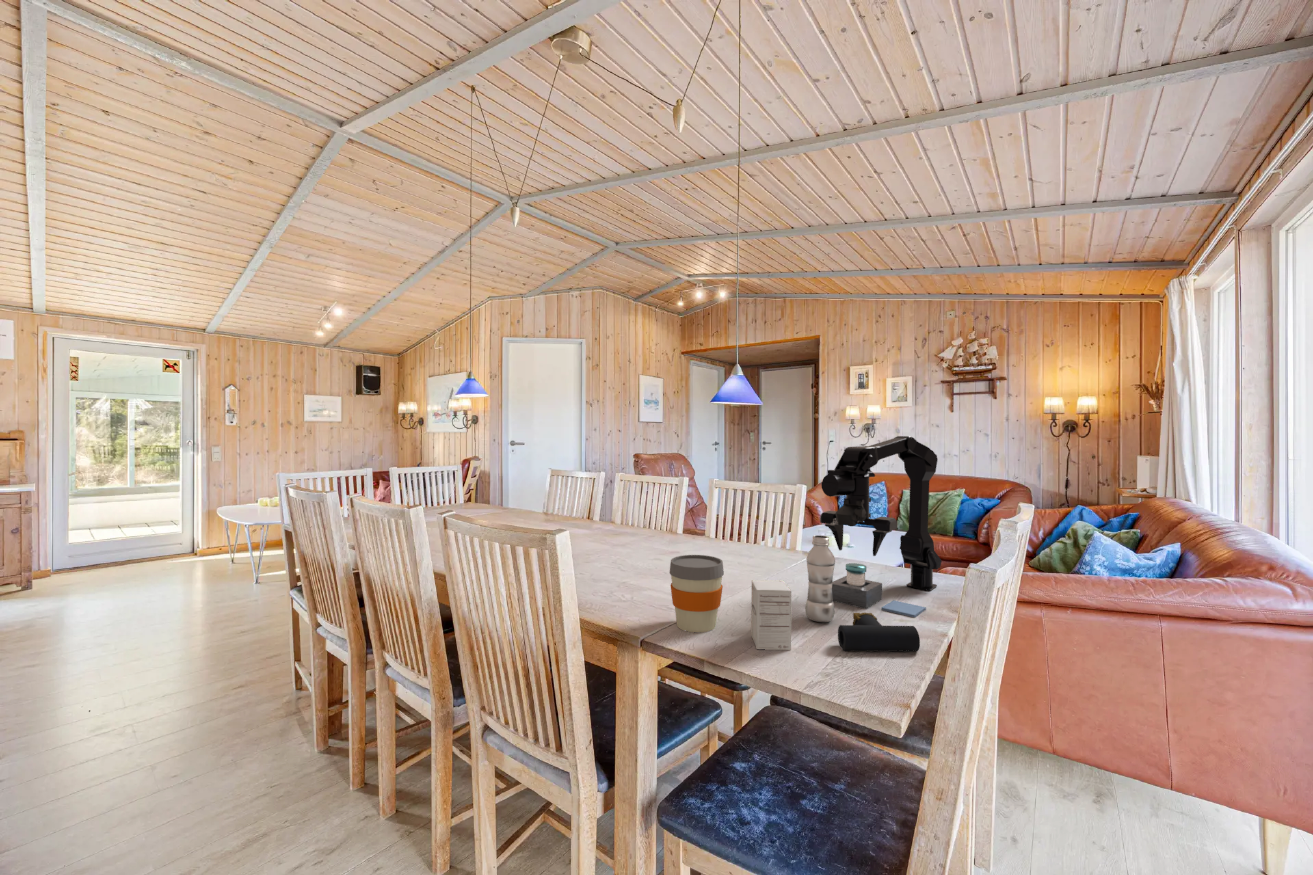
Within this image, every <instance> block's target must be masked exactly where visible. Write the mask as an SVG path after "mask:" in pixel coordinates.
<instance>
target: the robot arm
mask: <svg viewBox="0 0 1313 875" xmlns="http://www.w3.org/2000/svg"><path fill="white" fill-rule="evenodd" d="M894 455H895V456H896V455H897V456H898V458H899V459H900V460H901V461H902V462H903V465H904V472H905V473H906V475H907V478H908V479H909V500H908V501H909V503H908V504H909V506H908V507H909V508H908V530H907V531H906V532H905V533H904V535H901V536H900V539H899V540H900V545H899V550H900V553H901V556H902V560H903V563H904V564H908V565H910V582H908V583H906V585H905V587H908V588H912V587H913V588H914V589H916V590H917V589H918V590H922V591H928V592H929V591H930V592H931V591H932V590H933V589H936V588H937V587H938V585H937V584H935V583H933V582H934V580H933V579H934V570H939V569H940V568H941V566H942V562H943V561H942V559H941V558H940V556H939V555H938V553H937V552H936V550H935V544H934V540H933V538H932V536H931V534H930V532H929V502H930V498H929V497H930V496H929V495H930V481H931V479H932V477H933V476H935V474H936V472H937V465H938V455H937V454H936V453H935V452H934V451H933V450H932V449H931V448H930V447H928V446H926V445H925V444H923V443H921V442H919V441H918V440H917V439H915V438H914V437H912V436H911V435H897V436H895V437H893V438H891V439H887V440H884V441H881V442H880V441H879V442H877V443H874V444H871V445H865V446H863V445H862V446H861V445H859V446H858V445H857V446H856V445H855V446H847V447H846V448H844V450H843V453H842V455H841V457H840V458H839V461H838V462H837V463H836V466H835V467H834V469H828V470H827V474H826V475H825V476H824V477H823V479H822V481H821V483H820V484H821V490H822V491H823V493H824V495H826V497H842V496H845V497H844V499H843V504H842V506H840V508H838V509H837V510H827V511H824V512H821V513H820V515H819V516H820V517H819V522H820V523H821V524H824V527H825V528H827V527H828V529H829V530H830V531H831V533H832V535H833V537H834V540H835V543H836V546H837V548H838V551H842V550H843V547H844V526H848V527H855V526H856V525H861V526H862V525H863V526H870V527H873V528H874V530H872V535H873V541H872V542H873V543H872V556H873V557H876V556H877V554H878V552H879V550H880V547H881V545H882V543H883V541H884V539H885V537H886V535H887V534H888V533H891V532H892V531H895V530H897V529H898V521H897V520H896V518H895V517H888V516H879V517H875V518H871V517H872V513H870V503H871V502H872V498H871V497H870V478H874V477H875V476H876V474H875V473H874V472H873V471H872V470H871V468H873V467H875V466H876V465H877V464H878V462H879V461H880V460H883V459H885V458H889V457H893V456H894Z"/></svg>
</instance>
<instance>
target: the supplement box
mask: <svg viewBox="0 0 1313 875" xmlns="http://www.w3.org/2000/svg"><path fill="white" fill-rule="evenodd" d="M750 615H751V616H750V618H751V619H750V623H751V624H750V626H751V627H750V629H751V630H750V635H751V638H752V640H753V642H754V646H755V649H756V650H757V649H765V650H764V651H791V650H792V590H791V589H790V586H788V584H787V583H786V582H785V581H784V580H780V579H777V580H776V579H775V580H774V579H771V580H770V579H769V580H768V579H756V580H754V579H753V580H751V614H750Z"/></svg>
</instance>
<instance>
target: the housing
mask: <svg viewBox="0 0 1313 875" xmlns="http://www.w3.org/2000/svg"><path fill="white" fill-rule="evenodd" d="M832 596H833V602H836V603H841V604H845V605H849V606H853V607H856V608H861V609H865V610H867V609H869V608H871V607H872V606H875V605H876V604H878V603H879V602H881V601H882V600H883V582H879V581H873V580H868V579H865V586H864V587H862V588H861V587H856V586H851V585H847V575H845V576H842V577H840V578H838V579H836V580H833V581H832Z"/></svg>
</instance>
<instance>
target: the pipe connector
mask: <svg viewBox="0 0 1313 875" xmlns="http://www.w3.org/2000/svg"><path fill="white" fill-rule="evenodd" d="M852 616H853V618H852V619H853V620H852V624H850V625H849V624H845V625H844V624H840V625H839V626H838V627H837V640H838V644H839V648H840V649H841V650H842V651H845V652H846V651H847V652H852V651H853V652H918V651H919V650H920V647H921V646H920V645H921V641H920V640H921V639H920V635H919V631H918V630H917V628H916V627H915V626H914V625H882V624H881V622H879V621H878V618H877V617H876V616H875V615H874V614H873V613H872V612H853V615H852Z"/></svg>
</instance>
